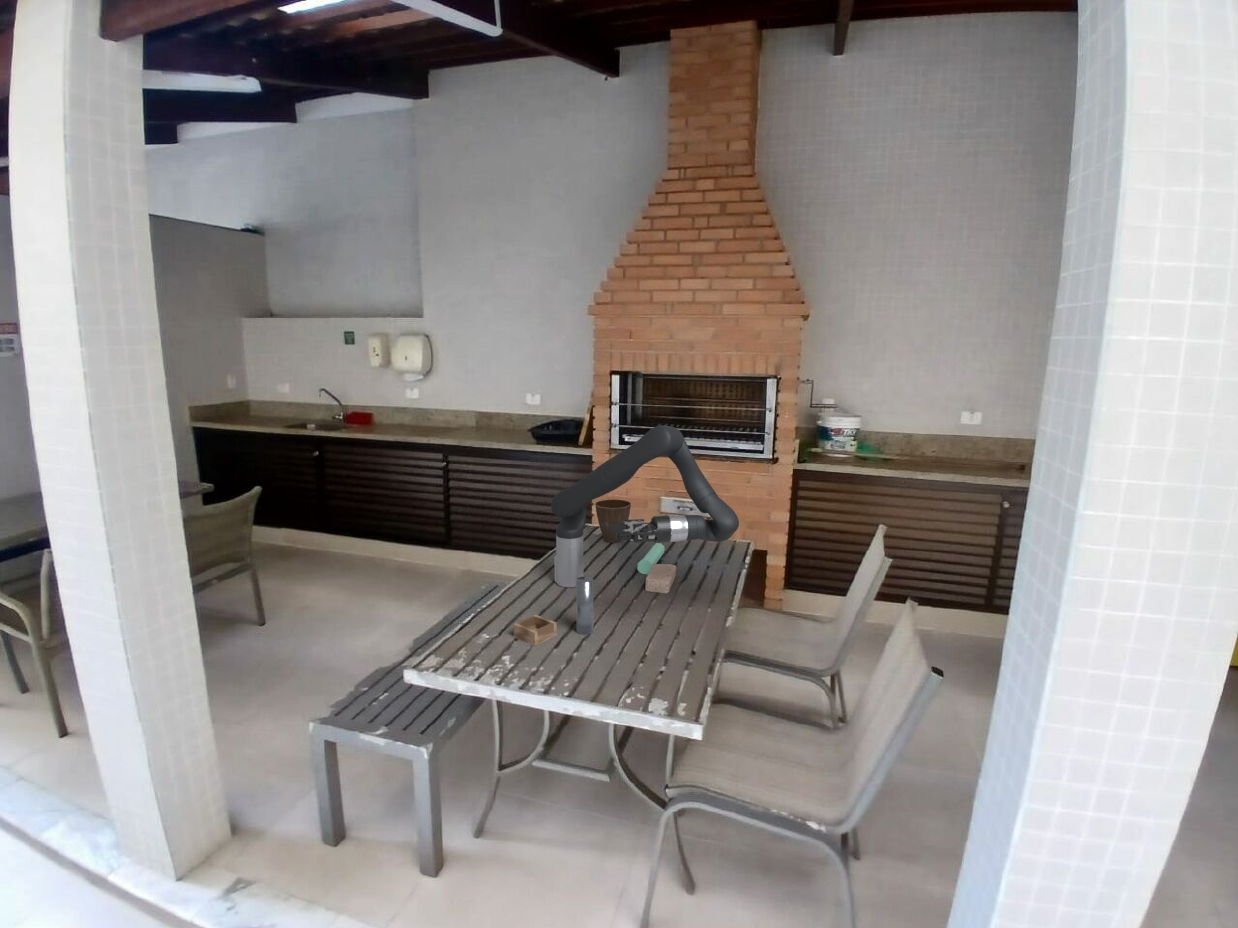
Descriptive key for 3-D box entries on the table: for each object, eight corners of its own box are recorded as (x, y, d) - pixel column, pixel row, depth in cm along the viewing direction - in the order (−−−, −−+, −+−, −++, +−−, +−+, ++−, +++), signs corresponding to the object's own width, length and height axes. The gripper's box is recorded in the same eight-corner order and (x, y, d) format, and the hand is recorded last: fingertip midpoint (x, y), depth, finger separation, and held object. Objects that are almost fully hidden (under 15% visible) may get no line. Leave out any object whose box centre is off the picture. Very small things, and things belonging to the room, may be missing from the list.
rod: (573, 633, 179) (572, 580, 176) (584, 627, 183) (584, 575, 180) (585, 638, 176) (585, 584, 173) (596, 632, 180) (596, 579, 177)
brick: (669, 594, 210) (669, 580, 209) (644, 591, 212) (644, 578, 211) (676, 577, 226) (676, 564, 225) (653, 574, 228) (653, 562, 227)
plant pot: (591, 544, 260) (591, 507, 257) (599, 534, 275) (599, 498, 272) (627, 546, 258) (628, 508, 255) (632, 536, 272) (633, 500, 269)
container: (655, 537, 250) (640, 556, 227) (669, 544, 249) (655, 564, 226) (650, 550, 252) (634, 570, 228) (663, 557, 251) (649, 578, 227)
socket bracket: (512, 639, 176) (512, 624, 175) (535, 628, 183) (535, 613, 182) (534, 649, 171) (534, 633, 170) (558, 637, 178) (557, 622, 177)
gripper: (662, 509, 185) (608, 511, 182) (676, 522, 171) (618, 525, 168) (662, 534, 187) (608, 536, 183) (676, 549, 173) (618, 552, 170)
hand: (613, 531), depth 176 cm, fingers open, 8 cm apart
